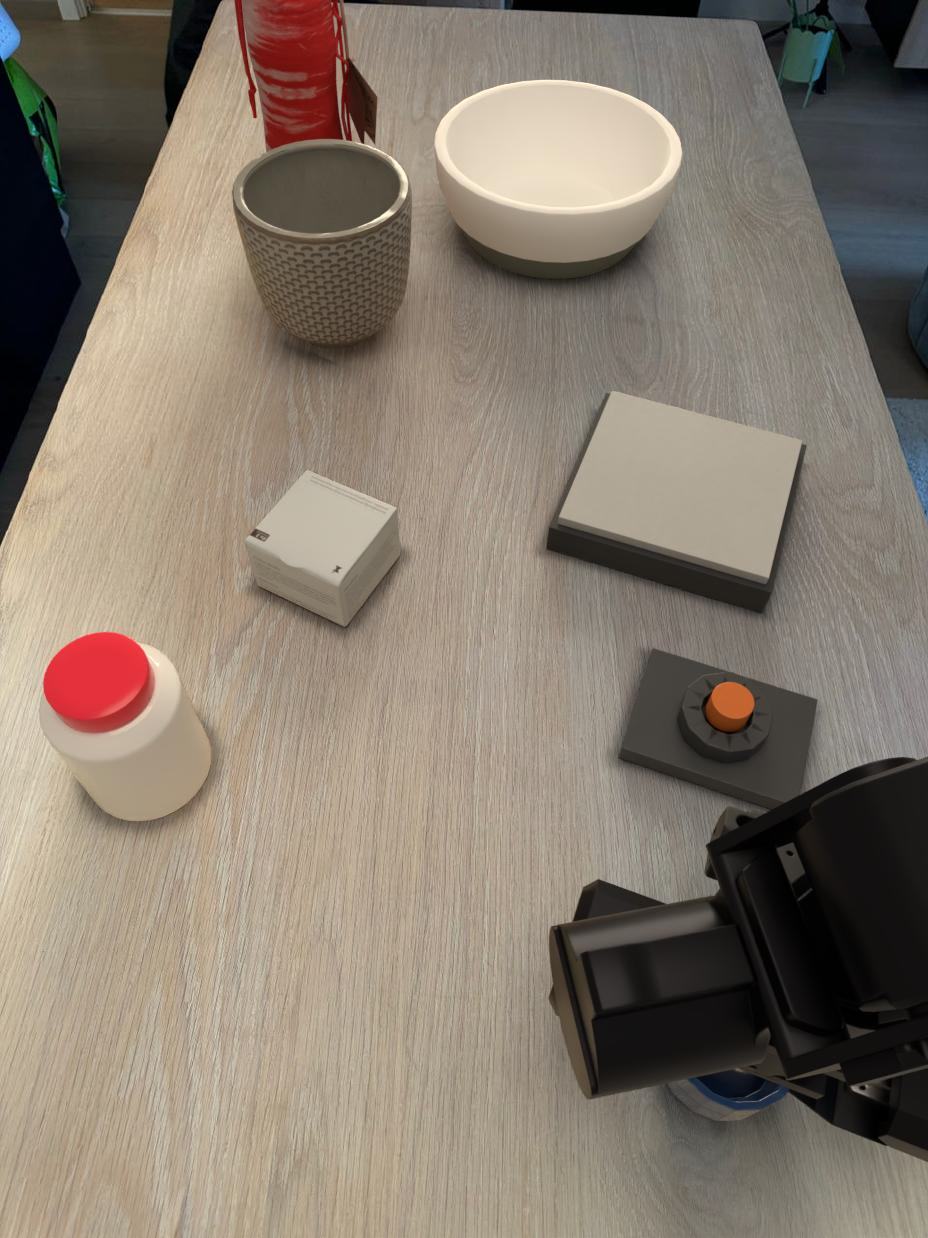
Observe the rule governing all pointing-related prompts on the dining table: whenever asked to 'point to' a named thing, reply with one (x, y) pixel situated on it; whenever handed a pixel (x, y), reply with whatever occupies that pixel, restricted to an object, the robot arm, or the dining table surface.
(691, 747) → the pad
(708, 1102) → the small dish
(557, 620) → the dining table surface
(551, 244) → the bowl
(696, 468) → the scale
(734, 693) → the button
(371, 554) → the small box
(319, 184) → the planter
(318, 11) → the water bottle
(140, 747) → the pill bottle
